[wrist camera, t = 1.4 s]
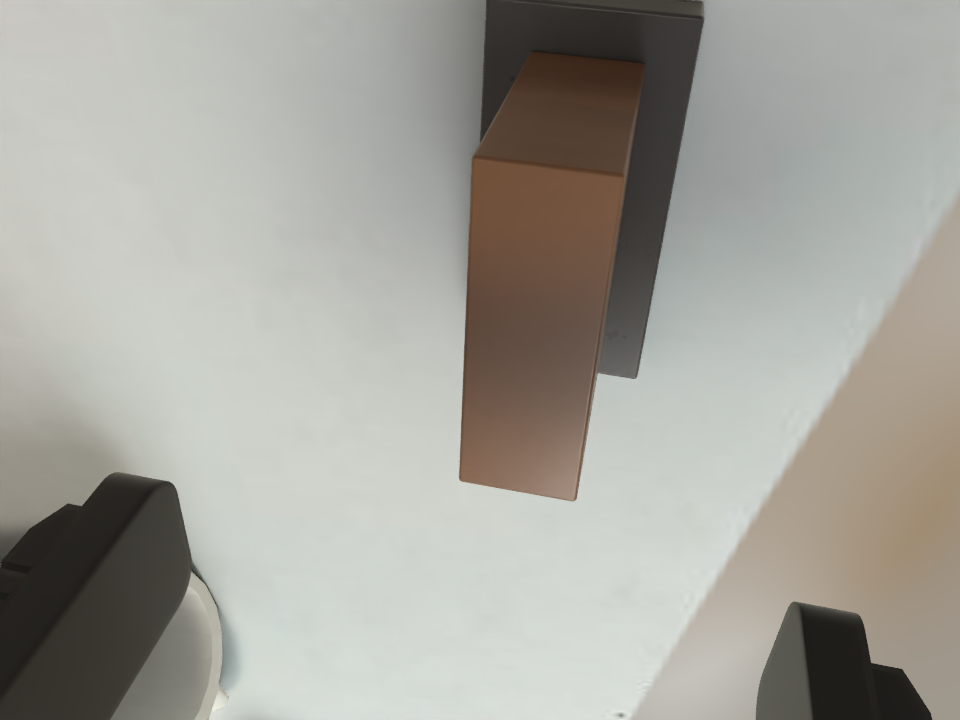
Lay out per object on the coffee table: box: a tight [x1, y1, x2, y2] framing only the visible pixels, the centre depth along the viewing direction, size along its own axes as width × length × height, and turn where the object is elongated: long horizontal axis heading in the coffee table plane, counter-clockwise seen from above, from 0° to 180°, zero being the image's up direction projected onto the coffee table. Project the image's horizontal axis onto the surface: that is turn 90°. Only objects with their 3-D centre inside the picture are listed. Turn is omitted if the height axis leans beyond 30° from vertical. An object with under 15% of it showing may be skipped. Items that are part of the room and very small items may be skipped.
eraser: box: [459, 0, 704, 501], centre depth 18 cm, size 9×4×7 cm, turn 178°
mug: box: [0, 566, 229, 720], centre depth 34 cm, size 12×9×12 cm
